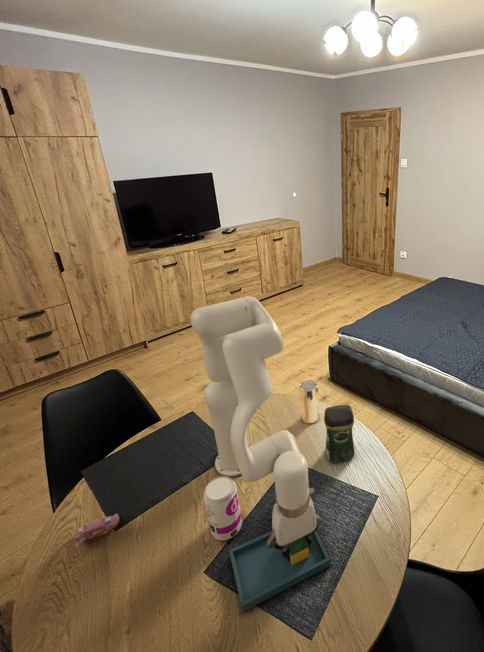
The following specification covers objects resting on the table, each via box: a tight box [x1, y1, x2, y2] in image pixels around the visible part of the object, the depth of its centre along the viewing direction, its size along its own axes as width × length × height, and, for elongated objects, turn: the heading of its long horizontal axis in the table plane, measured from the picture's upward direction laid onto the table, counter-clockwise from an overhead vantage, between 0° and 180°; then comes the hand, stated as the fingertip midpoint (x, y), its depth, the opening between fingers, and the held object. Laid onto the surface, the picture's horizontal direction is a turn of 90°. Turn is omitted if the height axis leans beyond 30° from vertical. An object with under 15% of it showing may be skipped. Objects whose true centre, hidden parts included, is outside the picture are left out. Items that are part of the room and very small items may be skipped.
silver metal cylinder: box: [298, 379, 319, 424], centre depth 137 cm, size 7×7×15 cm
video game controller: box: [73, 513, 120, 543], centre depth 97 cm, size 10×5×7 cm, turn 118°
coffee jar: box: [323, 404, 355, 463], centre depth 120 cm, size 10×8×19 cm
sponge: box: [288, 536, 309, 565], centre depth 93 cm, size 7×5×5 cm, turn 27°
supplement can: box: [203, 475, 243, 542], centre depth 97 cm, size 8×8×15 cm
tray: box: [228, 530, 331, 613], centre depth 91 cm, size 14×22×2 cm, turn 117°
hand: (296, 550), depth 93 cm, fingers closed on sponge, 4 cm apart
